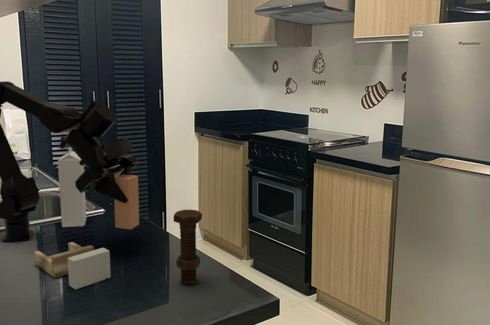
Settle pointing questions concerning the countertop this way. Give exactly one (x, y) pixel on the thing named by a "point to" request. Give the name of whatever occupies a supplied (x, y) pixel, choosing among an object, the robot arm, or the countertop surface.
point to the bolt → (188, 244)
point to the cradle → (59, 259)
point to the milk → (71, 191)
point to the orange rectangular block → (130, 210)
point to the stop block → (89, 268)
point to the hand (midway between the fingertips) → (131, 199)
